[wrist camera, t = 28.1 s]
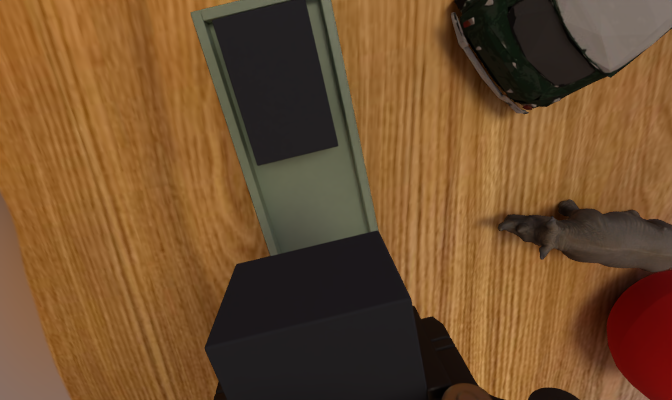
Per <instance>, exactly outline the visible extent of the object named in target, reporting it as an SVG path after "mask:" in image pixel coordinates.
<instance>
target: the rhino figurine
mask: <svg viewBox="0 0 672 400" xmlns="http://www.w3.org/2000/svg"><path fill="white" fill-rule="evenodd" d="M558 212H559V213H560V214H561V215H564V216H568V217H569V218H568V219H567V220H560V221H558V220H556V219H555V218H554V217H553V216H551V217H548V216H540V215H529V216H525V215H515V214H513V215H508V216H507V217H506V218H505V219H504V222H502V223H500V224H499V225H498V229H499V231H502V230H507V231H509V232H512V233H514V234H516V235H517V236H519V237H520V238H521V239H522V240H523V241H526V242H532V243H534V244H536V245H539V246H541V247H540V248H539V252H540V259H544V258H545V257H546V255H547V254H548V253H549V251H550V250H551V249H554V248H555V249H558V250H560V251H562V252H563V253H564V255H566V256H567V257H568V258H570V259H572V260H575V261H578V262H588V263H600V264H602V265H605V266H608V267H615V268H640V269H642V270H645V271H649V272H661V271H665V270H668V269H670V268H672V225H671V224H668V223H666V222H664V221H662V220H659V219H649V220H646V219H642V218H641V217H640V215H639V213H638V212H636V211H635V210H630V211H625V212H609V213H606V214H602V213H600V212H599V211H597V210H595V209H579V208H578V207H577V205H576V204H575V203H574V201H573V200H567V201H563V202H561V203H560V204H559V209H558Z"/></svg>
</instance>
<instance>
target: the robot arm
mask: <svg viewBox="0 0 672 400" xmlns="http://www.w3.org/2000/svg"><path fill="white" fill-rule="evenodd" d="M413 312H414V318H415V323H416V329H417V334H418V340H419V345H420V351H421V356H422V362H423V368H424V373H425V379H426V384H427V389H426V390H427V395H428V400H504V399H500V398H497V397H494V396H492V395H490V394H488V393H487V392H486V391H485V390H484V389H482V388H480V387H479V386H478V385H477V383H476V382H475V380H474V378H473V376H472V375H471V373H470V371H469V369H468V368H467V366H466V364H465V362H464V360H463V359H462V357H461V355H460V353H459V352H458V350H457V348H456V347H455V344H454V343H453V341H452V339H451V338H450V336H449V334H448V332H447V330H446V328H445V327H444V325H443V324H442V323H441V322H439V321H438V320H437V319H435V318H434V317H428V318H424V319H421V318H420V316H419V314H418V312H417V310H416V308H415V306H413ZM214 400H227V398H226V396H225V394H224V392H223V389H222V387H221V385H220V383H219V382H218V386H217V389H216V394H215V396H214ZM528 400H579V399H578V398H577V397H575V396H574V395H572V394H570V393H568V392H566V391H564V390H561V389H557V388H541V389H538V390H536V391H534V392H533V393H532V394H531V395H530V396H529V398H528Z"/></svg>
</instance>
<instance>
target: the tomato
mask: <svg viewBox="0 0 672 400" xmlns="http://www.w3.org/2000/svg"><path fill="white" fill-rule="evenodd" d="M607 338H608V346H609V349H610V352H611V354H612V357H613V359H614V362H615V364H616V366H617V368H618V369H619V370H620V371H621V373H622V374H623V375H624V376H625V378H626V379H627V380H628V381H629V382H630V383H631V384H632V385H633V386H634V387H635V388H636V389H638V390H639V391H640V392H641V393H642V394H644V395H645V396H646V397H647V398H649V399H650V400H672V270H667V271H661V272H658V273H654V274H651V275H649V276H647V277H645V278H643V279H641V280H639V281H638V282H636V283H635V284H633V285H632V286H630V287H629V288H628V289H627V290H626V291H624V292H623V293H622V295H621V296H620V297H619V298H618V299H617V301H616V302H615V304H614V305H613V307H612V309H611V312H610V314H609V317H608V320H607Z"/></svg>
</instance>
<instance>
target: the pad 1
mask: <svg viewBox="0 0 672 400" xmlns="http://www.w3.org/2000/svg"><path fill="white" fill-rule="evenodd" d="M212 23H213V26H214V30H215V33H216V36H217V39H218V42H219V46H220V49H221V52H222V55H223V58H224V61H225V65H226V68H227V71H228V74H229V77H230V81H231V84H232V87H233V90H234V93H235V97H236V100H237V103H238V106H239V109H240V112H241V116H242V119H243V122H244V125H245V128H246V132H247V135H248V138H249V141H250V144H251V148H252V151H253V154H254V157H255V160H256V163H257V166H260V165H264V164H268V163H272V162H276V161H280V160H284V159H288V158H292V157H296V156H300V155H305V154H309V153H313V152H317V151H321V150H325V149H329V148H333V147H337V146H338V140H337V136H336V131H335V127H334V123H333V118H332V114H331V110H330V105H329V101H328V96H327V92H326V88H325V83H324V79H323V74H322V70H321V66H320V61H319V57H318V52H317V48H316V44H315V39H314V35H313V31H312V26H311V22H310V17H309V13H308V9H307V4H306V0H292V1H288V2H284V3H280V4H276V5H272V6H268V7H263V8H259V9H255V10H251V11H247V12H243V13H239V14H235V15H230V16H226V17H222V18H218V19H214V20H212Z"/></svg>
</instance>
